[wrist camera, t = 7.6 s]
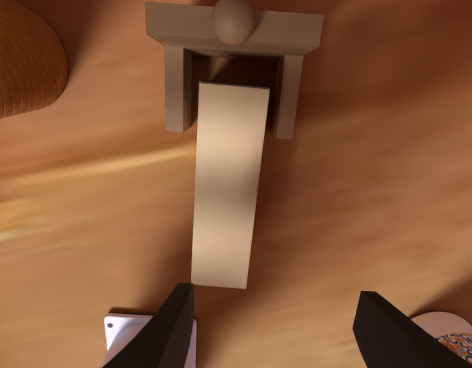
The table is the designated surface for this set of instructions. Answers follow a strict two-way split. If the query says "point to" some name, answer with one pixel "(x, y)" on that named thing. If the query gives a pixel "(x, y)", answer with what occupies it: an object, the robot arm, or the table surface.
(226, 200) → the beige rectangular block
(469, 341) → the bath foam
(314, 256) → the table surface
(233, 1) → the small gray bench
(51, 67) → the disposable coffee cup
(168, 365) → the robot arm
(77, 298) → the table surface
